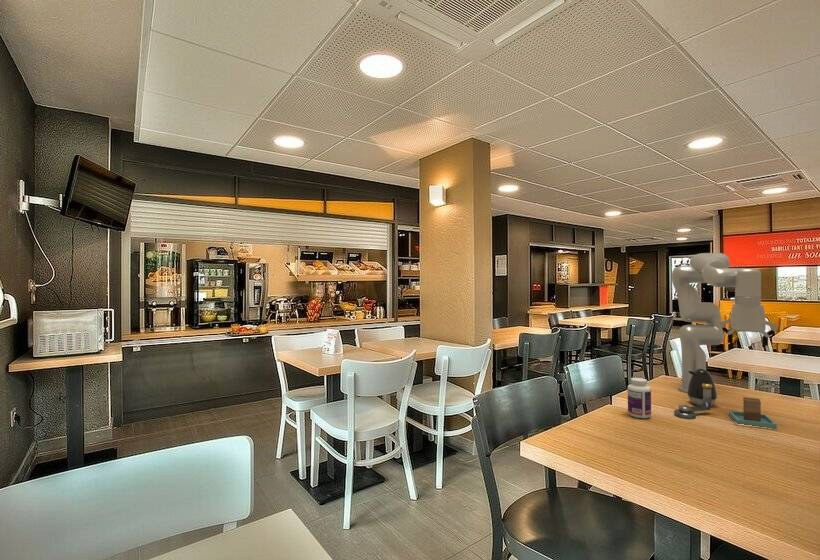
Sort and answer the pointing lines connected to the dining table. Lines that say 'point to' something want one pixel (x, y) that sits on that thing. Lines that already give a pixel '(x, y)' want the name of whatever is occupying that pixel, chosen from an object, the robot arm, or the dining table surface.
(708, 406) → the crank
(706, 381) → the black tapered rounded piece
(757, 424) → the tray
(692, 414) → the crank base
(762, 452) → the dining table surface
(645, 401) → the pill bottle
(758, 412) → the block
